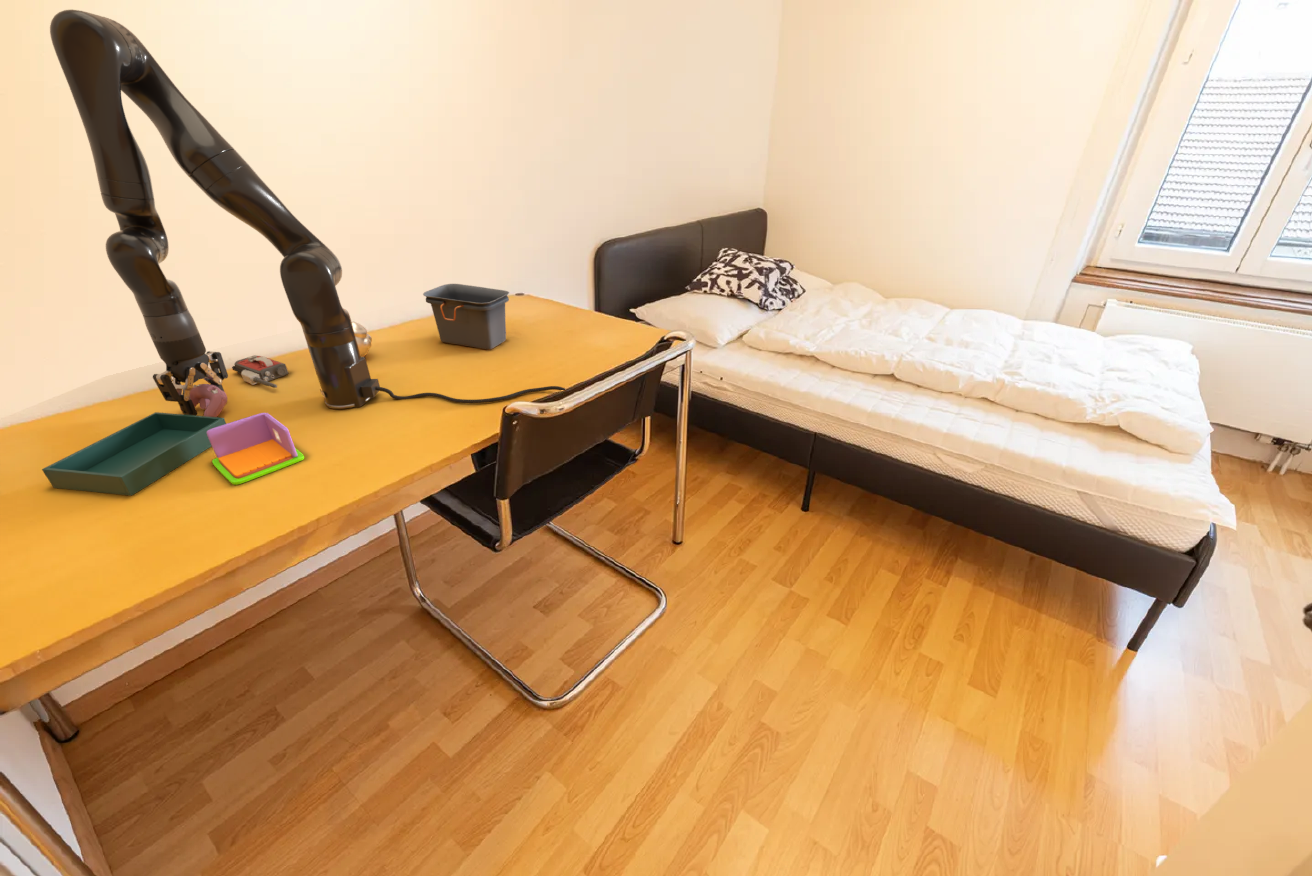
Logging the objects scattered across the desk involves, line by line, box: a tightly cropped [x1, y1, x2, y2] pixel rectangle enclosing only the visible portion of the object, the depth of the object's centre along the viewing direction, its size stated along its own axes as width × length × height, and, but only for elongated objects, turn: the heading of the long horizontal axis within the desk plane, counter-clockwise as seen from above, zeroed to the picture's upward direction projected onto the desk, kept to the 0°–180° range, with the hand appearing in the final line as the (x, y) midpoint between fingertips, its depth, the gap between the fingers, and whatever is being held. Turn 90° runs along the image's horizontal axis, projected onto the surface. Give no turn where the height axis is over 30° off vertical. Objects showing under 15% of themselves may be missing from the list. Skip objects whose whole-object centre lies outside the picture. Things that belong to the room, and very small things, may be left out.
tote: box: [41, 411, 227, 497], centre depth 103 cm, size 15×21×4 cm
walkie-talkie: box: [231, 354, 289, 389], centre depth 135 cm, size 9×4×20 cm
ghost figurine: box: [351, 321, 373, 357], centre depth 145 cm, size 9×10×10 cm
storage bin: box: [422, 283, 510, 351], centre depth 155 cm, size 21×16×14 cm
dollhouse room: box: [207, 412, 305, 486], centre depth 102 cm, size 12×12×7 cm
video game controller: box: [179, 383, 228, 417], centre depth 119 cm, size 10×5×7 cm, turn 65°
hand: (206, 407), depth 120 cm, fingers closed on video game controller, 6 cm apart
